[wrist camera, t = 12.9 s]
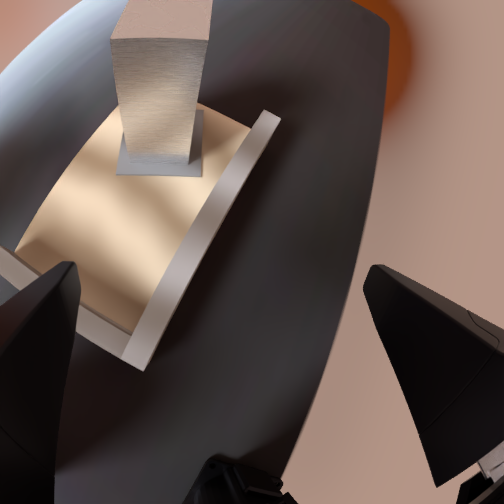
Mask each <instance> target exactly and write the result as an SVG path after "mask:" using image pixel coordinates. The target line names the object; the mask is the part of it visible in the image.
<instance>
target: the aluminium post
mask: <svg viewBox="0 0 504 504" xmlns="http://www.w3.org/2000/svg"><path fill="white" fill-rule="evenodd" d="M212 1H213V0H129V2H128V3H127V5H126V7H125V9H124V11H123V13H122V15H121V17H120V19H119V21H118V23H117V25H116V27H115V29H114V32H113V34H112V36H111V38H110V43H111V52H112V61H113V69H114V76H115V83H116V90H117V97H118V103H119V109H120V115H121V121H122V126H123V132H124V137H125V142H126V147H127V152H128V157H129V162H130V163H142V164H183V165H188V161H189V153H190V146H191V138H192V131H193V125H194V118H195V111H196V105H197V99H198V93H199V87H200V81H201V76H202V70H203V65H204V60H205V55H206V49H207V44H208V39H209V29H210V19H211V10H212Z"/></svg>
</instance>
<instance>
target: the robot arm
mask: <svg viewBox="0 0 504 504" xmlns="http://www.w3.org/2000/svg"><path fill="white" fill-rule="evenodd" d="M363 292H364V295H365V298H366V300H367V303H368V306H369V309H370V312H371V314H372V318H373V321H374V324H375V326H376V329H377V332H378V334H379V336H380V339H381V341H382V343H383V345H384V348H385V350H386V352H387V355H388V357H389V360H390V362H391V364H392V367H393V369H394V371H395V374H396V376H397V379H398V381H399V384H400V386H401V389H402V391H403V394H404V396H405V399H406V402H407V404H408V407H409V409H410V412H411V415H412V417H413V420H414V423H415V426H416V428H417V431H418V434H419V438H420V440H421V443H422V446H423V449H424V452H425V455H426V458H427V461H428V464H429V467H430V470H431V474H432V477H433V480H434V483H435V486H436V488H438V487H439V486H441V485H443V484H444V483H446V482H447V481H449V480H451V479H452V478H454V477H455V476H457V475H458V474H460V473H461V472H463V471H464V470H466V469H467V468H468V467H470V466H471V465H473V464H474V463H476V462H477V464H478V466H479V468H480V471H479V472H477V473H476V474H475V475H473V476H472V477H470V478H469V479H468V480H466V481H465V482H463V483H462V484H461V486H460V490H459V494H458V498H457V502H456V504H504V330H503V329H502V328H500V327H498V326H496V325H494V324H492V323H490V322H489V321H487V320H485V319H483V318H481V317H479V316H478V315H476V314H474V313H472V312H471V311H469V310H466V309H465V308H463V307H461V306H460V305H458V304H456V303H454V302H453V301H451V300H449V299H447V298H445V297H444V296H442V295H440V294H438V293H436V292H434V291H433V290H431V289H429V288H427V287H425V286H423V285H421V284H420V283H418V282H416V281H414V280H412V279H410V278H408V277H406V276H404V275H402V274H401V273H399V272H397V271H394V270H393V269H391V268H389V267H387V266H385V265H372V266H371V267H370V270H369V272H368V275H367V277H366V280H365V282H364V285H363ZM80 297H81V283H80V278H79V273H78V268H77V264H76V263H75V262H74V261H61V262H60V263H58V264H57V265H55V266H54V267H53V268H51V269H50V270H48V271H47V272H45V273H44V274H43V275H41V276H40V277H38V278H37V279H36V280H34V281H33V282H31V283H30V284H29V285H27V286H26V287H25V288H23V289H22V290H21V291H19V292H18V293H17V294H15V295H14V296H13V297H11V298H10V299H9V300H7V301H6V302H5V303H4V304H2V305H1V306H0V504H54V484H55V477H54V475H55V461H56V449H57V438H58V429H59V421H60V414H61V407H62V400H63V394H64V388H65V383H66V377H67V372H68V367H69V362H70V357H71V353H72V348H73V344H74V339H75V332H76V324H77V317H78V310H79V303H80ZM211 463H214V464H215V466H213V467H210V466H209V465H210V464H211ZM276 482H279V483H278V484H277V485H275V483H276ZM282 486H283V482H282V480H281V479H280V478H277V477H273V476H269V475H268V474H267V472H265V471H261V470H258V469H254V468H251V467H247V466H244V465H241V464H235V465H231V464H228V463H225V462H222V461H219V460H216V459H208V460H207V461H206V462H205V464H204V466H203V467H202V469H201V471H200V473H199V475H198V477H197V478H196V480H195V482H194V484H193V486H192V487H191V489H190V491H189V493H188V495H187V496H186V498H185V500H184V502H183V503H182V504H298V503H297V502H296V501H295V500H294V498H293V497H292V496H291V495H290V493H289V492H287V493H285V494H284V495H283V494H282V492H281V491H280V489H281V488H282Z"/></svg>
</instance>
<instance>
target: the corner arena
mask: <svg viewBox="0 0 504 504" xmlns="http://www.w3.org/2000/svg"><path fill="white" fill-rule="evenodd" d="M280 120H281V118H279V117H277V116H275V115H273V114H272V113H270V112H268V111H266V110H263V112H262V113H261V115H260V116H259V118H258V119H257V121H256V122H255V124H254V125H253V127H252V128H251V129H250V128H248V127H246V126H244V125H242V124H240V123H238V122H236V121H235V120H233V119H231V118H229V117H227V116H224V115H222V114H220V113H218V112H216V111H214V110H212V109H210V108H208V107H206V106H204V105H202V104H199V103H197V105H196V111H195V118H194V125H193V131H192V138H191V146H190V153H189V161H188V165H183V164H142V163H130V162H129V157H128V152H127V147H126V142H125V137H124V132H123V126H122V121H121V115H120V109H119V105H118V106H117V107H116V109H115V110H114V111H113V112H112V113H111V114H110V115H109V116H108V118H107V119H106V120H105V121H104V122H103V123H102V124H101V126H100V127H99V128H98V129H97V130H96V131H95V133H94V134H93V135H92V136H91V138H90V139H89V140H88V141H87V142H86V144H85V145H84V146H83V148H82V149H81V150H80V151H79V153H78V154H77V155H76V157H75V158H74V159H73V161H72V162H71V163H70V165H69V166H68V167H67V169H66V170H65V171H64V173H63V174H62V176H61V177H60V178H59V180H58V181H57V183H56V184H55V186H54V187H53V189H52V190H51V192H50V193H49V195H48V196H47V198H46V199H45V201H44V202H43V204H42V205H41V207H40V209H39V210H38V212H37V213H36V215H35V217H34V218H33V220H32V222H31V223H30V225H29V227H28V229H27V230H26V232H25V234H24V236H23V237H22V239H21V241H20V243H19V245H18V246H17V248H16V250H15V252H12V251H10V250H8V249H7V248H5V247H3V246H1V245H0V275H2V276H3V277H4V278H5V279H6V280H8V281H9V282H10V283H11V284H12V285H14V286H15V287H16V288H17V289H19V290H20V291H21V290H22V289H23V288H25V287H26V286H27V285H29V284H30V283H31V282H33V281H34V280H36V279H37V278H38V277H40V276H41V275H43V274H44V273H45V272H47V271H48V270H50V269H51V268H53V267H54V266H55V265H57V264H58V263H60V262H61V261H74V262H75V263H76V264H77V268H78V273H79V278H80V283H81V297H80V303H79V310H78V317H77V324H76V332H78V333H79V334H81V335H82V336H84V337H85V338H87V339H89V340H90V341H92V342H93V343H95V344H97V345H98V346H100V347H101V348H103V349H105V350H106V351H108V352H110V353H111V354H113V355H115V356H117V357H118V358H120V359H122V360H123V361H125V362H127V363H129V364H131V365H132V366H134V367H136V368H138V369H140V370H142V371H144V370H145V368H146V367H147V365H148V364H149V362H150V360H151V358H152V356H153V354H154V352H155V350H156V348H157V346H158V344H159V342H160V340H161V338H162V336H163V334H164V332H165V330H166V328H167V326H168V324H169V322H170V320H171V318H172V316H173V314H174V312H175V310H176V308H177V307H178V305H179V303H180V301H181V299H182V297H183V295H184V293H185V291H186V289H187V287H188V285H189V283H190V282H191V280H192V278H193V276H194V274H195V272H196V270H197V268H198V267H199V265H200V263H201V261H202V259H203V257H204V255H205V253H206V252H207V250H208V248H209V246H210V244H211V242H212V241H213V239H214V237H215V235H216V233H217V231H218V230H219V228H220V226H221V224H222V222H223V221H224V219H225V217H226V215H227V213H228V212H229V210H230V208H231V206H232V204H233V203H234V201H235V199H236V197H237V196H238V194H239V192H240V190H241V189H242V187H243V185H244V183H245V182H246V180H247V178H248V176H249V175H250V173H251V171H252V169H253V168H254V166H255V164H256V163H257V161H258V159H259V157H260V156H261V154H262V152H263V151H264V149H265V147H266V146H267V144H268V142H269V140H270V138H271V136H272V135H273V133H274V131H275V129H276V127H277V125H278V124H279V122H280Z"/></svg>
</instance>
